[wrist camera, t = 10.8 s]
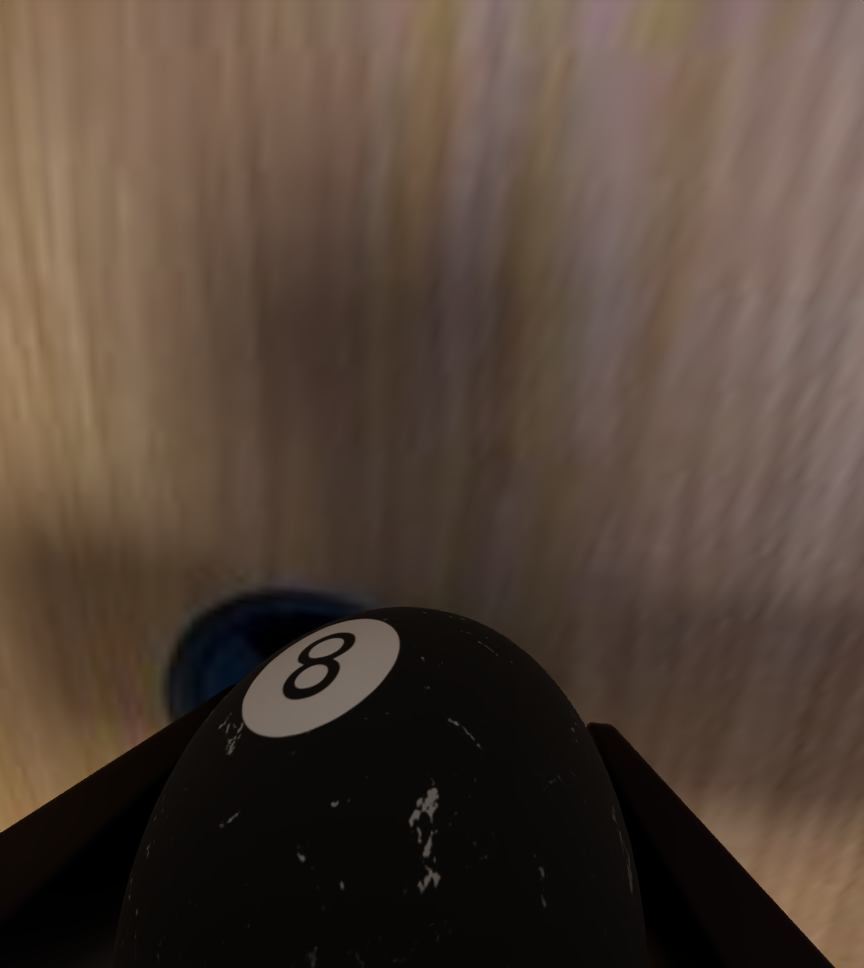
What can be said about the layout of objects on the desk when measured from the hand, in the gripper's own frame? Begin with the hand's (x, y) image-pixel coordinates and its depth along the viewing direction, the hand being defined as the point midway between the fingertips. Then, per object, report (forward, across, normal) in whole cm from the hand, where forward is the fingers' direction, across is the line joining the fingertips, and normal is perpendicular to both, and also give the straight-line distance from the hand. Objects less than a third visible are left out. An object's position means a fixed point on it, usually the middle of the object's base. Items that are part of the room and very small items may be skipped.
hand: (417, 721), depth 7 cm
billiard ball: (+1, 0, 0) cm, 1 cm away
